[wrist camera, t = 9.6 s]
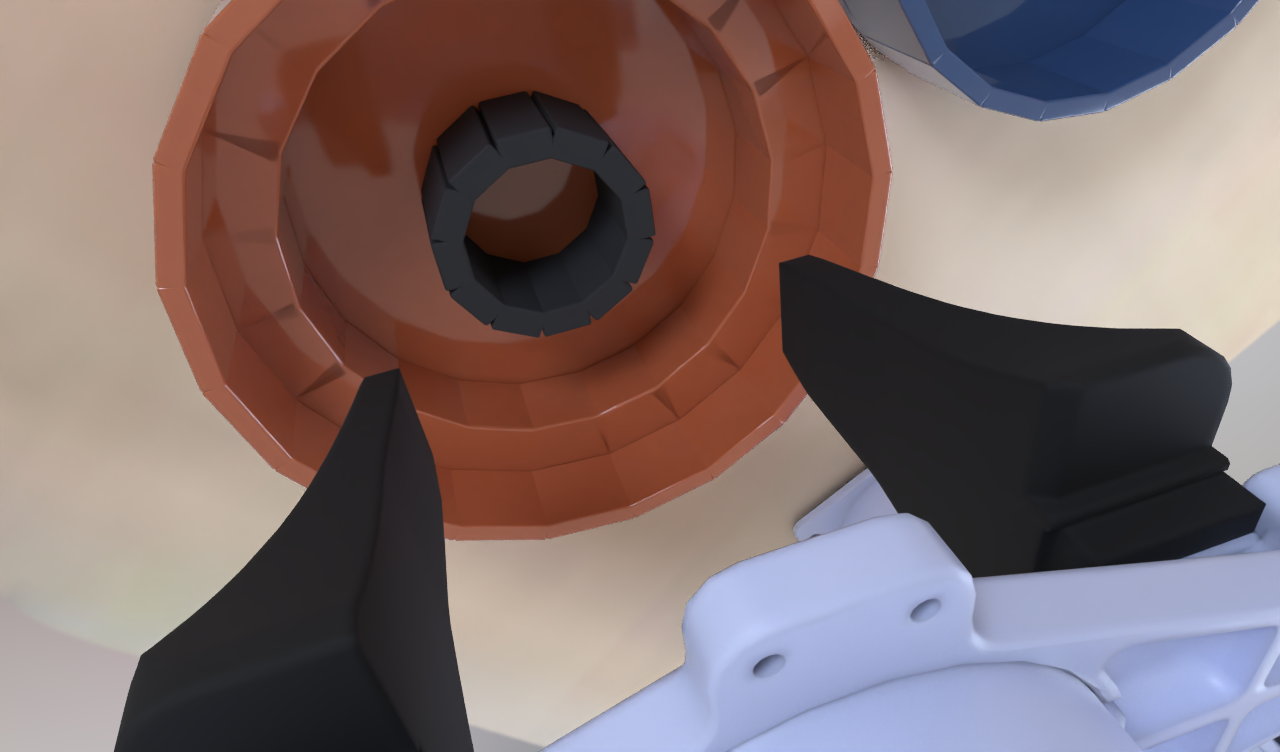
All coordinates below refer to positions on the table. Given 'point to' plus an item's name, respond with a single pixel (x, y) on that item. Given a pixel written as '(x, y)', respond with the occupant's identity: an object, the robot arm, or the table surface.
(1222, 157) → the table surface
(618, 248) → the ring
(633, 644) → the table surface
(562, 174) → the bowl
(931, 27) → the blue round dish
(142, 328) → the table surface
